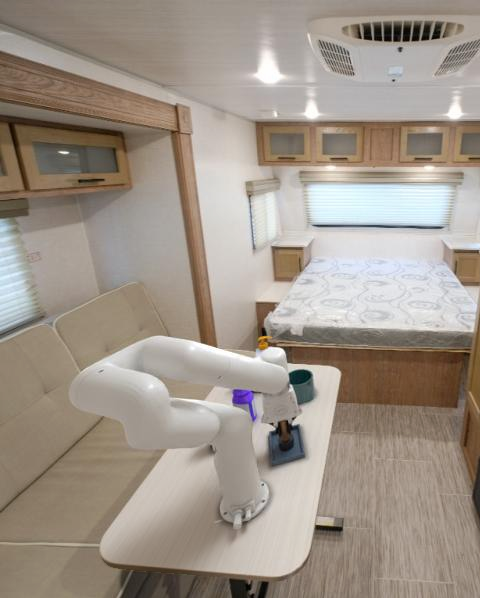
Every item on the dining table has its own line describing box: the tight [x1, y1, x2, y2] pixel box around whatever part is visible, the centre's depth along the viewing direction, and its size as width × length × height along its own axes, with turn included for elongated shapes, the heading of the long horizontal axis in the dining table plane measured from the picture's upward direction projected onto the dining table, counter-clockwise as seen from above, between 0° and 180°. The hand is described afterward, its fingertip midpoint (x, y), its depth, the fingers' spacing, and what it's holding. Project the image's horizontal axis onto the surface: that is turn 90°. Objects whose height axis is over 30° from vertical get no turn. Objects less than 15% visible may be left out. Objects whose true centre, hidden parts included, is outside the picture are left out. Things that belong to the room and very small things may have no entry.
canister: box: [288, 368, 316, 405], centre depth 137 cm, size 11×11×9 cm
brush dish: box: [268, 423, 306, 467], centre depth 114 cm, size 14×10×2 cm
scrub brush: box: [278, 419, 295, 451], centre depth 112 cm, size 5×5×11 cm
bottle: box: [231, 389, 258, 423], centre depth 122 cm, size 7×6×17 cm
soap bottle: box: [254, 335, 274, 358], centre depth 141 cm, size 9×7×23 cm
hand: (284, 432), depth 112 cm, fingers closed on scrub brush, 2 cm apart
